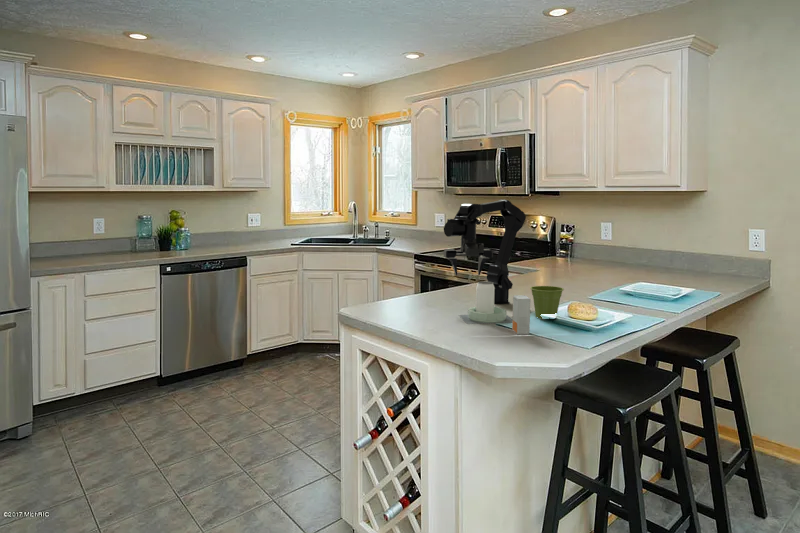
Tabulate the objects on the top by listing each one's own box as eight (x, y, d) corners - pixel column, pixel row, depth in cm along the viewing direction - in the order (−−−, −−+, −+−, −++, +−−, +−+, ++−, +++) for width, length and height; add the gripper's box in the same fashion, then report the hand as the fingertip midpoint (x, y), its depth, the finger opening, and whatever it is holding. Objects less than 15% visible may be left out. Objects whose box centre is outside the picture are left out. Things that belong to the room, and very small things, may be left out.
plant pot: (562, 316, 206) (564, 286, 204) (562, 323, 195) (563, 291, 193) (530, 314, 209) (531, 284, 208) (527, 320, 198) (528, 289, 197)
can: (496, 316, 198) (497, 283, 197) (480, 317, 196) (480, 284, 195) (489, 312, 204) (490, 280, 203) (472, 313, 203) (473, 281, 201)
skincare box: (511, 330, 184) (512, 295, 183) (524, 330, 185) (525, 295, 183) (516, 335, 178) (518, 298, 177) (529, 335, 179) (531, 298, 177)
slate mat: (505, 314, 207) (505, 313, 207) (517, 323, 194) (517, 322, 194) (458, 316, 205) (458, 314, 205) (467, 325, 191) (467, 323, 191)
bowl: (499, 314, 207) (499, 305, 206) (510, 322, 194) (510, 313, 193) (464, 315, 205) (464, 306, 205) (473, 323, 192) (473, 314, 192)
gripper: (449, 237, 208) (448, 278, 210) (497, 237, 210) (496, 277, 212) (443, 235, 219) (442, 274, 221) (489, 235, 221) (488, 273, 223)
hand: (467, 275), depth 219 cm, fingers open, 9 cm apart
